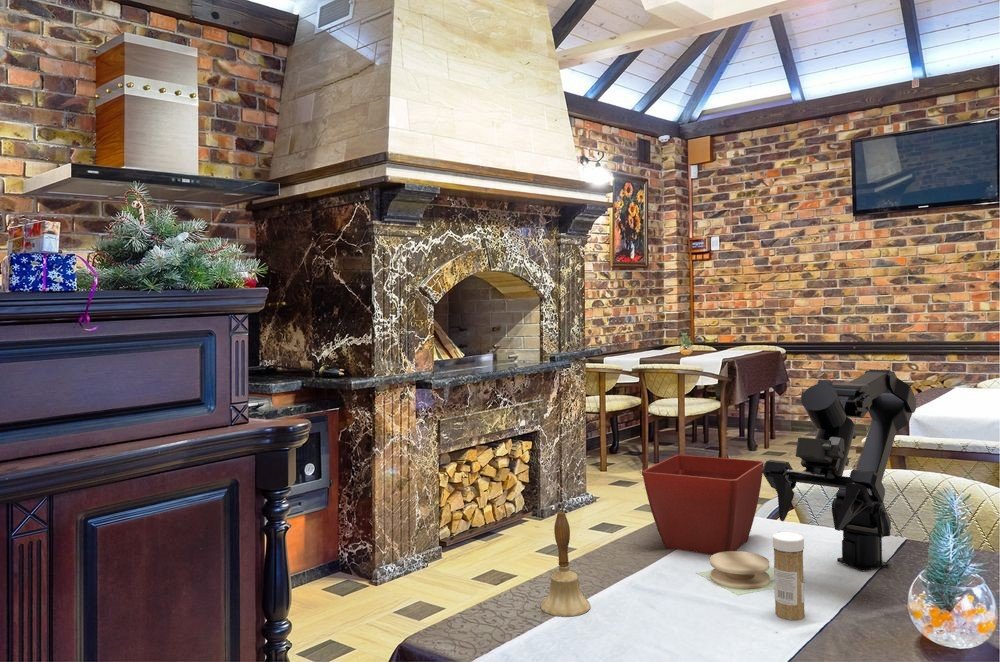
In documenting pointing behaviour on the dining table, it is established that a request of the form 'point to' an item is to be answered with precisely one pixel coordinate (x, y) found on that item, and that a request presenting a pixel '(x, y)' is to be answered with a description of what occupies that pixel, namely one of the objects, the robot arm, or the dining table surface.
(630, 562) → the dining table surface
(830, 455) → the robot arm
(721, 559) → the bobbin
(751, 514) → the plant pot
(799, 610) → the sprinkles bottle
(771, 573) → the notched board
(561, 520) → the hand bell
